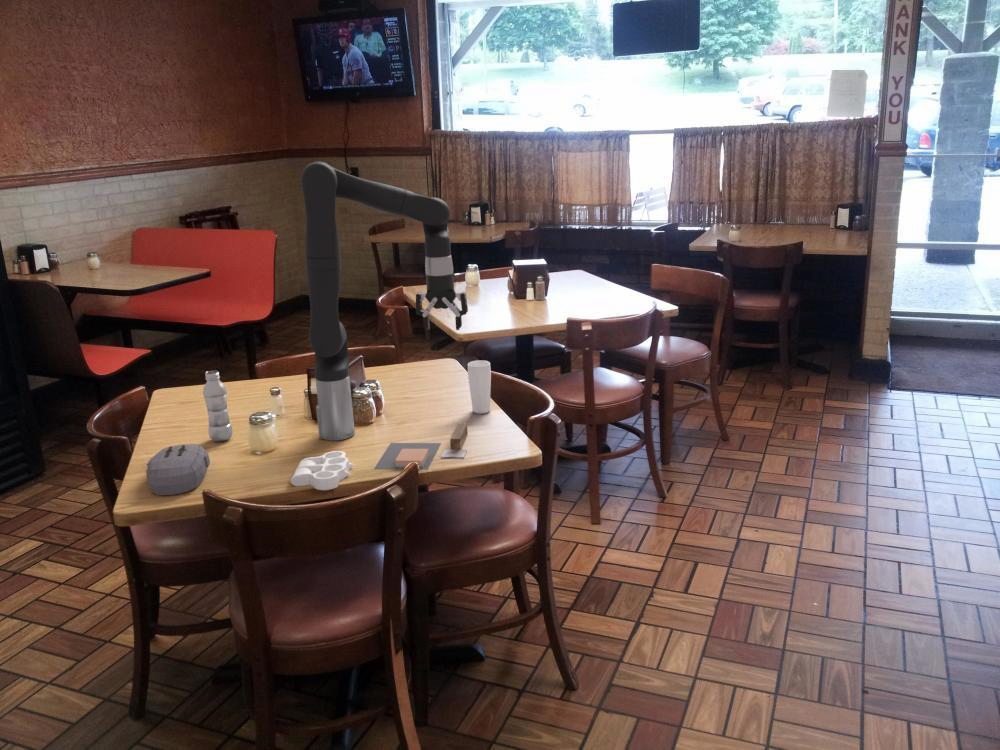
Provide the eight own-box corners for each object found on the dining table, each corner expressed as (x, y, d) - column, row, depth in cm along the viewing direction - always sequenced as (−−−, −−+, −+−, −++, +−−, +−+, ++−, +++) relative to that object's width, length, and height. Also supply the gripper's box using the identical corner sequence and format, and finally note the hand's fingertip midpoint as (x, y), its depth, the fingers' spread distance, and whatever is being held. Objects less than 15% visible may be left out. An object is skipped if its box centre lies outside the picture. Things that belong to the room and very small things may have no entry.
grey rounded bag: (156, 470, 232) (139, 501, 213) (151, 440, 230) (133, 469, 211) (215, 463, 234) (204, 494, 215) (211, 434, 232) (199, 463, 213)
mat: (373, 470, 224) (373, 468, 224) (391, 444, 241) (390, 442, 241) (427, 471, 223) (427, 469, 222) (441, 444, 240) (441, 443, 239)
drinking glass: (490, 415, 260) (487, 366, 256) (467, 415, 262) (464, 366, 257) (494, 408, 267) (492, 360, 262) (473, 407, 268) (470, 359, 264)
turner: (441, 460, 229) (440, 445, 228) (452, 436, 245) (451, 423, 244) (464, 460, 229) (463, 445, 227) (473, 436, 245) (473, 423, 244)
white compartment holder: (303, 464, 232) (359, 461, 232) (288, 493, 215) (348, 490, 214) (302, 452, 231) (358, 449, 231) (286, 480, 214) (347, 477, 214)
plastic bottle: (223, 434, 255) (213, 367, 250) (238, 438, 252) (229, 371, 246) (204, 441, 250) (194, 373, 245) (220, 445, 247) (209, 377, 241)
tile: (402, 455, 232) (395, 467, 224) (402, 448, 231) (395, 460, 224) (429, 455, 231) (422, 467, 223) (428, 448, 230) (422, 460, 223)
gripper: (410, 275, 240) (415, 333, 245) (462, 274, 238) (465, 332, 243) (417, 270, 247) (421, 326, 252) (467, 269, 245) (470, 325, 250)
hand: (443, 329), depth 247 cm, fingers open, 8 cm apart
